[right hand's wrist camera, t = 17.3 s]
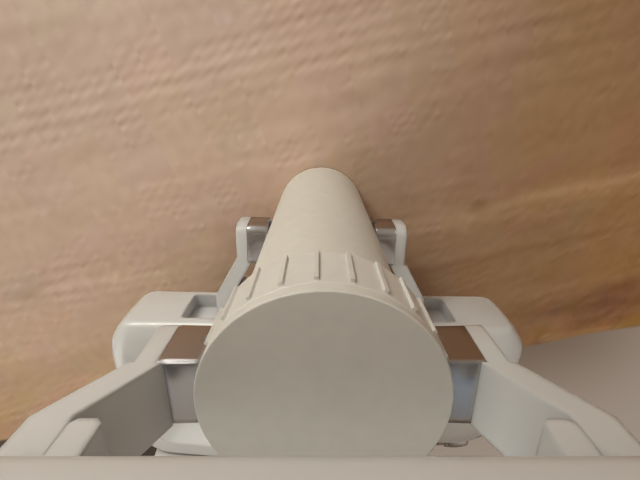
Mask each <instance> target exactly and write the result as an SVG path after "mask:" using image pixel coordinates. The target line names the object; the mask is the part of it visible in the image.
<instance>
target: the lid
mask: <svg viewBox="0 0 640 480" xmlns="http://www.w3.org/2000/svg"><path fill="white" fill-rule="evenodd" d="M437 333H438V332H437V330H436V328H435V326H434V324H433V322H432V320H431V318H430V316H429V314H428V312H427V310H426V308H425V306H424V304H423V302H422V300H421V298H420V297H419V298H416V296H415V295H414V294H413V292H412V291H411V290H410V288H409V287H408V286H407V285H406V283H405V280H404V279H403V278H402V277H400V278H398V277H397V276H395V275H394V274H393V273H391V272H390V271H389V270H387V269H385V268H384V267H382V266H381V265H380V263H379V262H377V261H376V262H375V263H374V262H372V261H369V260H367V259H364V258H361V257H357V256H354V255H351V253H350V252H346V254H344V253H337V252H319V250H314V252H310V253H301V254H297V255H293V256H289V257H288V255H285V256H283V259H280V260H277V261H275V262H272V263H270V264H268V265H267V266H265V267H263V268H261V269H260V267H258V268H257V269H256V270H255V272H254V274H252V275H251V276H249V277H248V278H247V279H246V280H245V281H244V282H243V283H242V284H241V285H240V286H237V285H236V286H235V287H234V289H233V291H232V293H231V295H230V298H229V300H228V301H227V303H226V305H225V307H224V308H222V307H220V309H219V312H218V314H217V316H216V318H215V320H214V322H213V324H212V327H211V329H210V331H209V333H208V335H207V337H206V339H205V342H204V345H207V346H206V348H205V351H204V353H203V355H202V357H201V360H200V363H199V365H198V368H197V371H196V376H195V381H194V395H193V398H194V405H195V412H196V415H197V419H198V422H199V425H200V427H201V429H202V431H203V433H204V435H205V437H206V439H207V440H208V442H209V443H210V445H211V446H212V448H213V449H214V450H215V451H216V452H217V453H218V454H219V456H427V455H428V454H429V453H430V452H431V451H432V450H433V448H434V447H435V445H436V444H437V443H438V441H439V440H440V438H441V437H442V435H443V433H444V431H445V429H446V427H447V424H448V421H449V419H450V416H451V412H452V406H453V400H454V384H453V378H452V372H451V369H450V366H449V363H448V360H447V359H449V358H448V355H447V353H446V351H445V349H444V347H443V345H442V343H441V341H440V339H439V337H438V335H437Z"/></svg>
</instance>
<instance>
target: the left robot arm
mask: <svg viewBox="0 0 640 480" xmlns="http://www.w3.org/2000/svg"><path fill="white" fill-rule="evenodd" d="M271 223H272V218H263V217H241V218H240V220H239V221H238V223H237V226H236V248H237V258H236V260H235V261H234V263H233V265H232V267H231V269H230V270H229V272H228V274H227V276H226V277H225V279H224V281H223V283H222V285H221V287H220V289H219V291H218V292H168V291H153V292H149V293H148V294H146V295H145V296H144V297H143V298H142V299H141V300H140V301H139V302H138V303H137V304H136V305H135V306H134V307H133V308H132V309H131V310H130V311H129V312H128V313H127V314H126V316H125V317H124V318H123V319H122V321H121V322H120V324H119V325H118V327H117V328H116V330H115V332H114V335H113V338H112V352H113V358H114V363H115V367H116V369H117V368H119V367H121V366H123V365H124V364H126V363H128V362H135V360H136V359H137V358H138V356H139V355H140V353H141V352H142V350H143V349H144V348H145V346H146V345H147V343H148V342H149V341H150V339H151V338H152V336H153V335H154V333H155V332H156V331H157V329H158V328H159V327H160V326H162V325H203V326H212V324H213V322H214V320H215V318H216V316H217V314H218V312H219V309H220V307H222V308H224V307H225V305H226V303H227V301H228V300H229V298H230V295H231V293H232V291H233V289H234V287H235V286H236V285H237V286H240V285H241V284H242V283H243V282H244V281H245V280H246V279H247V278H248V277H243V276H244V275H245V273H246V271H247V269H248V268H249V266H250V264H251V262H257V260H258V257H259V255H260V252H261V249H262V247H263V244H264V241H265V239H266V236H267V233H268V231H269V228H270V226H271ZM371 223H372V226H373V228H374V231H375V233H376V235H377V238H378V240H379V243H380V245H381V248H382V250H383V253H384V255H385V257H386V260H387V262H388V265H390V266H391V268H392V270H393V272H394V274H395V275H396V276H397V277H398V278H400V277H402V278H403V279H404V280H405V283H406V285H407V286H408V287H409V288H410V290H411V291H412V292H413V294H414V295H415V296H416V298H419V297H420V298H421V300H422V302H423V304H424V306H425V308H426V310H427V312H428V314H429V316H430V318H431V320H432V322H433V324H434V326H462V325H482V326H484V327H485V329H486V330H487V331H488V333H489V334H490V336H491V337H492V338H493V340H494V341H495V343H496V344H497V345H498V347H499V348H500V349H501V351H502V352H503V354H504V355H505V356H506V358H507V359H508V360H509V362H516V363H518V364H519V360H520V357H521V353H522V340H521V338H520V336H519V334H518V332H517V330H516V329H515V327H514V326H513V325H512V323H511V322H510V321H509V319H508V318H507V317H506V316H505V314H504V313H503V312H502V311H501V310H500V309H499V308H498V307H497V306H496V305H495V304H494V303H493V302H492V301H491V300H489V299H488V298H485V297H471V296H422V294H421V292H420V290H419V288H418V286H417V284H416V282H415V280H414V278H413V276H412V275H411V273H410V271H409V269H408V267H407V265H406V263H405V252H406V242H407V228H406V226H405V224H404V223H403V221H402V220H393V219H392V220H391V219H372V220H371ZM480 436H482V435H481V434H480V433H479V432H478V431H476V430H475V429H474V428H473V427H472V426H471V423H448V424H447V427H446V429H445V431H444V433H443V435H442V437H441V438H440V440H439V441H438V443H437V444H436V445H444V446H446V447H461V446H465V445H467V444H468V441H469V440H472V439H475V438H478V437H480ZM152 446H154V447H156V448H157V450H156V453H155V456H219V454H218V453H217V452H216V451H215V450H214V449H213V448H212V446H211V445H210V443H209V442H208V440H207V439H206V437H205V435H204V433H203V431H202V429H201V427H200V425H199V423H173V426H172V427H171V428H170V429H169V430H168V431H166V432H165V433H164V434H163V435H162V436H161V437H160V438H159V439H158V440H157V441H156V442H155V443H154V444H153V445H152Z"/></svg>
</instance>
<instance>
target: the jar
mask: <svg viewBox="0 0 640 480" xmlns="http://www.w3.org/2000/svg"><path fill="white" fill-rule="evenodd" d="M314 250H319V252H337V253H344V254H346V252H350V253H351V255H354V256H357V257H361V258H364V259H367V260H369V261H372V262H374V263H375V262H376V261H377V262H379V263H380V265H381V266H382V267H384V268H385V269H387V270H389V271H390V272H391V270H390V267H389V265H388V262H387V260H386V257H385V255H384V253H383V250H382V248H381V245H380V243H379V240H378V238H377V235H376V233H375V231H374V228H373V226H372V223H371V221H370V218H369V216H368V214H367V211H366V209H365V206H364V204H363V201H362V199H361V197H360V194H359V192H358V190H357V188H356V186H355V185H354V183H353V182H352V181H351V180H350V179H349V178H348V177H347V176H346V175H344V174H342V173H341V172H339V171H336V170H334V169H330V168H312V169H308V170H306V171H303V172H301V173H299V174H298V175H296V176H295V177H294V178H293V179H292V180H291V181H290V182H289V183H288V184H287V186H286V188H285V189H284V192H283V194H282V196H281V199H280V202H279V204H278V207H277V210H276V212H275V215H274V218H273V220H272V223H271V226H270V228H269V231H268V233H267V236H266V239H265V241H264V244H263V247H262V249H261V252H260V255H259V257H258V260H257V263H256V265H255V268H254V271H253V273H252V274H254V272H255V270H256V269H257V268H258V267H260V269H261V268H263V267H265V266H267V265H268V264H270V263H272V262H275V261H277V260H280V259H283V256H285V255H288V257H289V256H293V255H297V254H301V253H310V252H314ZM391 273H392V272H391Z"/></svg>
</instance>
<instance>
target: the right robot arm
mask: <svg viewBox="0 0 640 480" xmlns="http://www.w3.org/2000/svg"><path fill="white" fill-rule="evenodd" d="M211 327H212V326H203V325H162V326H160V327H159V328H158V329H157V331H156V332H155V333H154V335H153V336H152V338H151V339H150V341H149V342H148V343H147V345H146V346H145V348H144V349H143V350H142V352H141V353H140V355H139V356H138V358H137V359H136V360H135V362H128V363H126V364H124V365H123V366H121V367H119V368H117V369H115V370H113V371H112V372H110V373H108V374H106V375H104V376H102V377H101V378H99V379H97V380H95V381H93V382H91V383H90V384H88V385H86V386H84V387H82V388H80V389H79V390H77V391H75V392H73V393H71V394H69V395H68V396H66V397H64V398H62V399H60V400H58V401H57V402H55V403H53V404H51V405H49V406H47V407H46V408H44V409H42V410H40V411H38V412H36V413H35V414H33V415H31V416H29V417H28V418H27V419H26V421H25V422H24V423H23V424H22V425H21V426H20V427H19V428H18V429H17V430H16V431H15V433H14V434H13V435H12V436H11V437H10V438H9V439H8V440H7V441H6V442H5V444H4V445H3V446H2V447H1V448H0V480H640V442H639V441H638V440H637V439H636V438H635V437H634V435H633V434H632V433H631V432H630V431H629V430H628V429H627V428H626V427H625V426H624V425H623V424H622V422H621V421H620V420H619V419H618V418H617V417H616V416H614V415H612V414H610V413H608V412H606V411H604V410H603V409H601V408H599V407H597V406H595V405H593V404H591V403H590V402H588V401H586V400H584V399H582V398H580V397H579V396H577V395H575V394H573V393H571V392H569V391H567V390H566V389H564V388H562V387H560V386H558V385H557V384H555V383H553V382H551V381H549V380H547V379H545V378H544V377H542V376H540V375H538V374H536V373H534V372H533V371H531V370H529V369H527V368H525V367H523V366H521V365H520V364H518V363H516V362H509V360H508V359H507V358H506V356H505V355H504V354H503V352H502V351H501V349H500V348H499V347H498V345H497V344H496V343H495V341H494V340H493V338H492V337H491V336H490V334H489V333H488V331H487V330H486V329H485V327H484V326H482V325H462V326H435V328H436V330H437V332H438V333H437V335H438V337H439V339H440V341H441V343H442V345H443V347H444V349H445V351H446V353H447V355H448V358H449V359H447V360H448V363H449V366H450V369H451V372H452V378H453V384H454V400H453V406H452V412H451V416H450V419H449V421H448V423H471V426H472V427H473V428H474V429H475V430H476V431H478V432H479V433H480V434H481V435H482V436H483V437H484V438H485V439H486V440H487V441H488V442H489V443H490V444H492V445H493V446H494V447H495V448H496V449H497V450H498V451H499V452H500V453H501V454H502V455H503V456H141V455H142V454H143V453H144V452H145V451H146V450H147V449H148V448H149V447H150V446H152V445H153V444H154V443H155V442H156V441H157V440H158V439H159V438H160V437H161V436H162V435H163V434H164V433H165V432H166V431H168V430H169V429H170V428H171V427H172V426H173V423H199V422H198V419H197V415H196V412H195V405H194V398H193V395H194V381H195V376H196V371H197V368H198V365H199V363H200V360H201V357H202V355H203V353H204V351H205V348H206V346H207V345H204V342H205V339H206V337H207V335H208V333H209V331H210V329H211Z"/></svg>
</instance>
